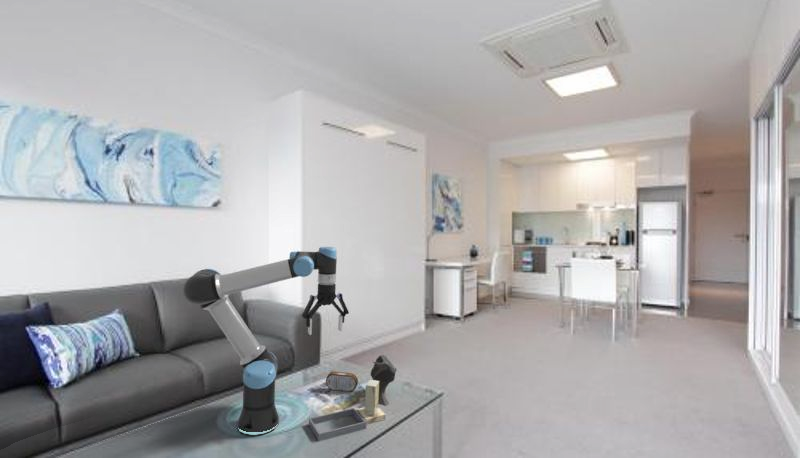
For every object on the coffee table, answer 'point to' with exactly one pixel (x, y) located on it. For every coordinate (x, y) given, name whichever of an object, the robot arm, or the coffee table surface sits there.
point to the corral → (338, 431)
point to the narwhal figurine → (383, 376)
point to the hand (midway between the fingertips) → (325, 332)
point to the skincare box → (371, 397)
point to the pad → (369, 418)
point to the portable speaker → (341, 381)
